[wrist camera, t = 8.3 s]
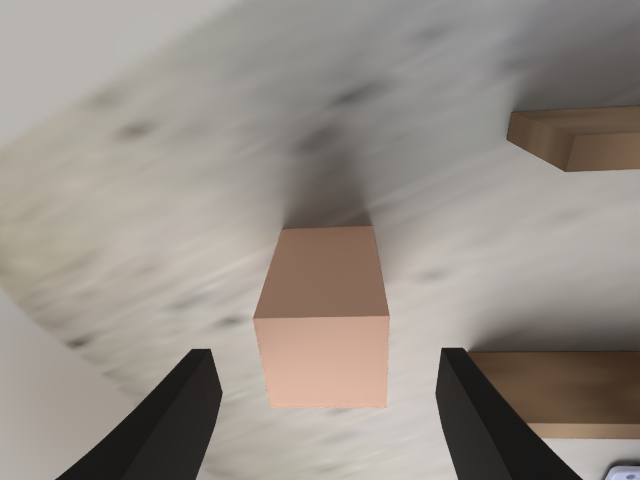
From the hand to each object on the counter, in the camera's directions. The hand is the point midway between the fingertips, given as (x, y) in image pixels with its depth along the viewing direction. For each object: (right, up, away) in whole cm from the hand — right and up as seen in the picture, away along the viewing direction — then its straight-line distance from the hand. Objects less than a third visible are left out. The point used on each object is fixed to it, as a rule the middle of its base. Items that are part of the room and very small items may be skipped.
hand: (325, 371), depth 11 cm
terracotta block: (0, +3, +5) cm, 6 cm away
